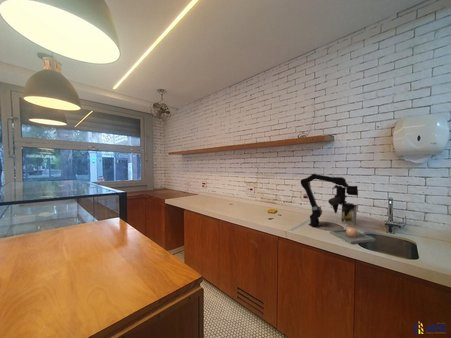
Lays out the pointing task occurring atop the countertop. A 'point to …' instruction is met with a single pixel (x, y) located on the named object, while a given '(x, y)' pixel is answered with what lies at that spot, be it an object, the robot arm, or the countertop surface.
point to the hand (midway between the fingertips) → (340, 214)
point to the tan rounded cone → (351, 232)
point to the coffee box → (350, 216)
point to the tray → (360, 238)
